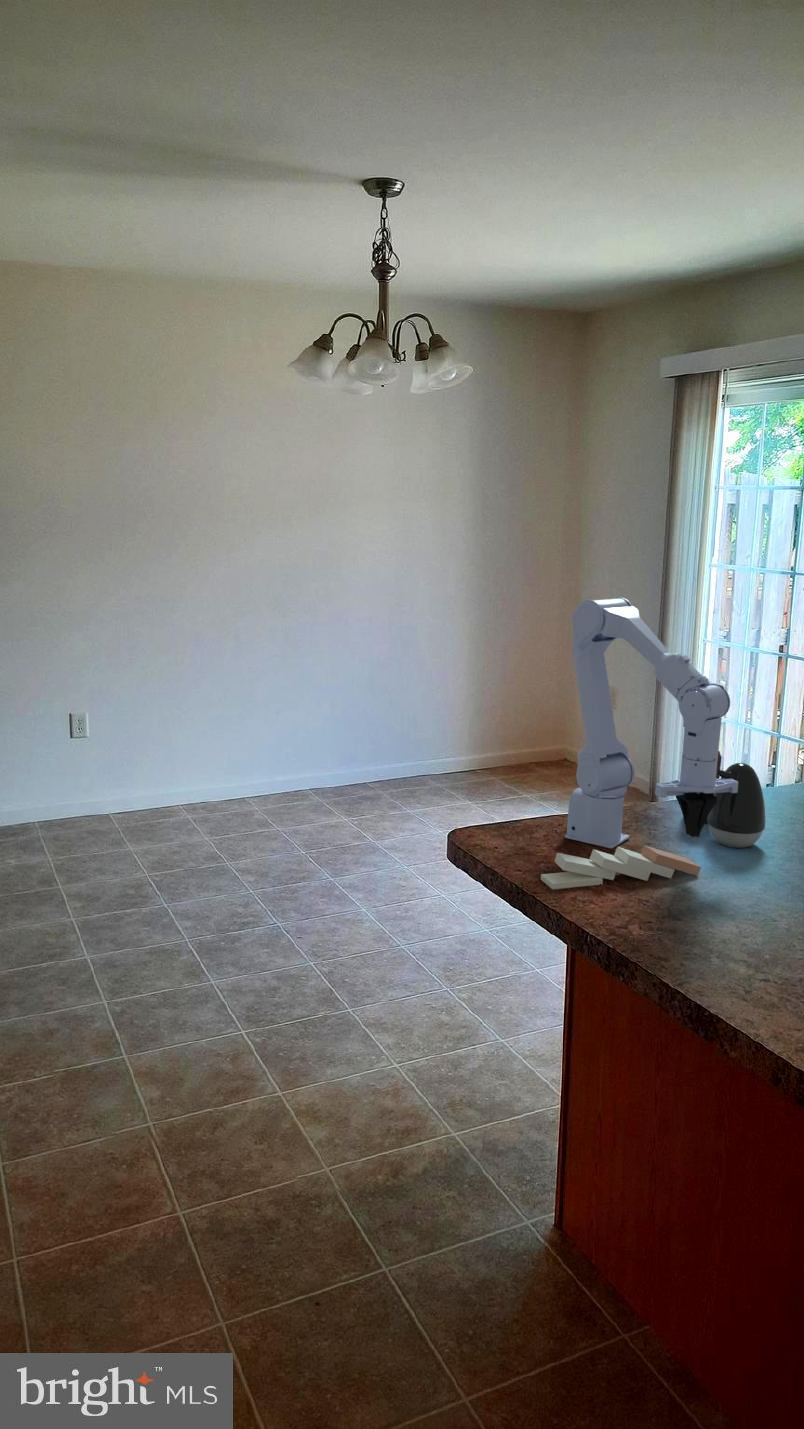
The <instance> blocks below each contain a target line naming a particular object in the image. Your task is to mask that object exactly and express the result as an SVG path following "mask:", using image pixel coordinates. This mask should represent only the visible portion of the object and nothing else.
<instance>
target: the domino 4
mask: <svg viewBox="0 0 804 1429" xmlns="http://www.w3.org/2000/svg"><path fill="white" fill-rule="evenodd" d="M613 855H614V856H616V857H617V858H618V859H620V860H621V861H622V862H623V863H625V864H626V865H629V866H633V867H636V868H639V869H642V870H645V871H648V872H651V873H652V874H655V875H659V876H662V877H664V878H668V879H672V877H673V875H674V872H675V869H673V868H670V867H666V866H663V865H660V864H656V863H654V862H652V861H651V860H649V859H648V858H646V857H645V856H643V855H642V854H641V853H639V852H636V851H632V850H630V849H626V848H623V847H620V846H616V849H615V852H614V854H613Z"/></svg>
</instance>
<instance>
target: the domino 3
mask: <svg viewBox="0 0 804 1429" xmlns="http://www.w3.org/2000/svg"><path fill="white" fill-rule="evenodd" d="M589 859H591V860H593V861H594V862H595V863H596V864H598V865H599V866H600V867H602V868H605V869H608V870H612V871H615V872H616V873H619V874H623V875H625V876H629V877H632V878H636V879H639V880H643V881H646V882H647V881H648V880H649V877H650V875H651V873H652V872H648V871H645V870H642V869H639V868H636V867H633V866H629V865H626V864H625V863H623V862H622V861H621V860H620V859H618V858H617V857H616V856H614V854H610V853H606V852H603V851H600V850H598V849H592V851H591V854H590V856H589Z"/></svg>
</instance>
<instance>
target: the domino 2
mask: <svg viewBox="0 0 804 1429" xmlns="http://www.w3.org/2000/svg"><path fill="white" fill-rule="evenodd" d="M540 880H541V881H542V882H543V883H544V884H546V885H547V886H548V887H549V888H550V889H551V890H561V889H570V888H578V887H579V888H580V887H588V886H589V887H591V886H598V885H599V886H600V884H601V885H603V882H604V878H600V877H595V876H590V875H585V874H580V873H575V872H570V871H564V872H554V873H553V872H551V873H544V874H543V873H542V874H540Z"/></svg>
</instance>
